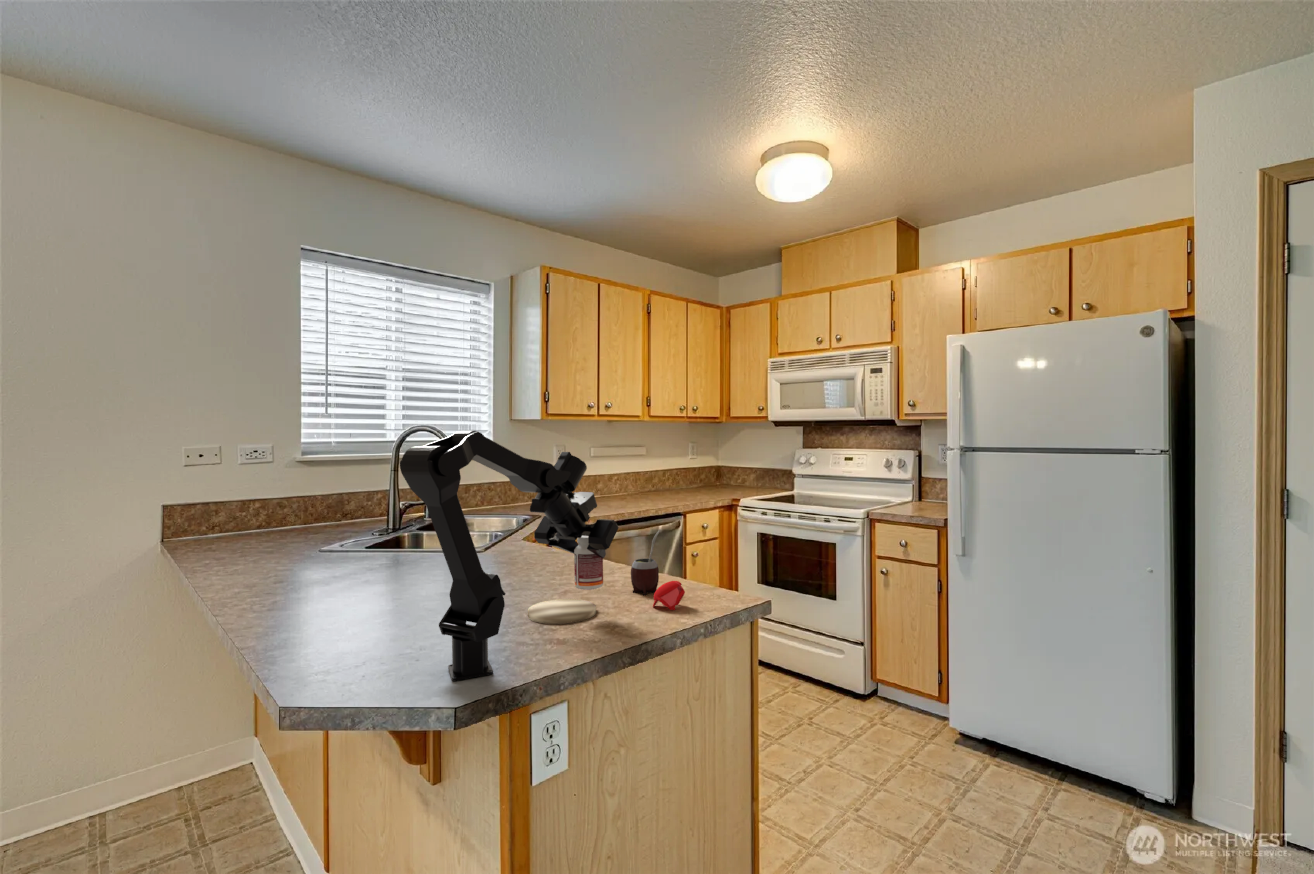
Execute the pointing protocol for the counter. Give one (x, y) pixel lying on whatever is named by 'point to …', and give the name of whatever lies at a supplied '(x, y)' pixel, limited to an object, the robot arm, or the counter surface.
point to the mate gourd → (645, 573)
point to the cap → (669, 594)
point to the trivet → (561, 611)
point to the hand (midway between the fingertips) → (592, 555)
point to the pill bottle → (587, 567)
